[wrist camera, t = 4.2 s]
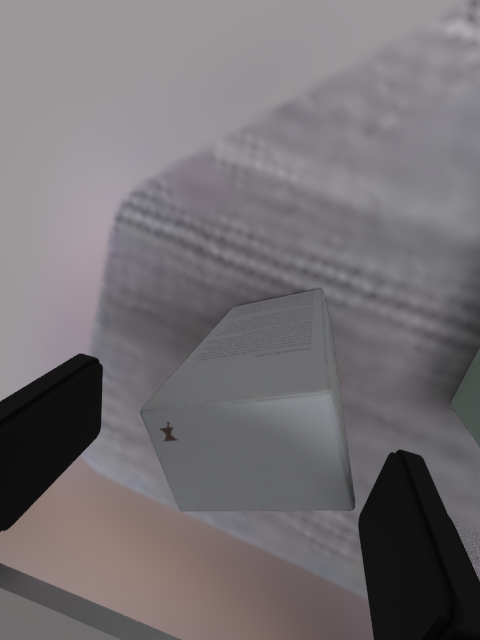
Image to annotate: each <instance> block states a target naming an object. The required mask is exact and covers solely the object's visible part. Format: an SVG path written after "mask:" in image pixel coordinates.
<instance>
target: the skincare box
mask: <svg viewBox="0 0 480 640" xmlns="http://www.w3.org/2000/svg"><path fill="white" fill-rule="evenodd" d="M140 414H141V417H142V419H143V421H144V424H145V426H146V429H147V431H148V433H149V436H150V438H151V441H152V443H153V446H154V448H155V451H156V453H157V456H158V458H159V461H160V463H161V466H162V468H163V471H164V473H165V476H166V478H167V481H168V483H169V486H170V488H171V491H172V493H173V496H174V498H175V500H176V502H177V504H178V507H179V509H180V510H181V511H234V510H252V511H279V510H346V511H351V510H353V509H354V508H355V497H354V489H353V482H352V474H351V467H350V460H349V453H348V445H347V438H346V431H345V424H344V417H343V409H342V402H341V395H340V388H339V380H338V372H337V365H336V357H335V349H334V344H333V338H332V332H331V327H330V322H329V317H328V312H327V306H326V301H325V296H324V292H323V290H322V289H317V290H313V291H308V292H303V293H298V294H293V295H288V296H283V297H278V298H274V299H269V300H264V301H259V302H255V303H250V304H245V305H240V306H235V307H233V308H232V309H231V310H230V311H229V312H228V313H227V314H226V315H225V316H224V318H223V319H222V320H221V321H220V322H219V323H218V324H217V325H216V327H215V328H214V329H213V330H212V331H211V332H210V333H209V334H208V335H207V337H206V338H205V339H204V340H203V341H202V342H201V343H200V344H199V345H198V347H197V348H196V349H195V350H194V351H193V352H192V353H191V354H190V355H189V356H188V358H187V359H186V360H185V361H184V362H183V363H182V364H181V365H180V366H179V368H178V369H177V370H176V371H175V372H174V373H173V374H172V375H171V376H170V377H169V378H168V380H167V381H166V382H165V383H164V384H163V385H162V386H161V387H160V389H159V390H158V391H157V392H156V393H155V394H154V395H153V396H152V397H151V399H150V400H149V401H148V402H147V403H146V404H145V405H144V406H143V408H142V409H141V411H140Z"/></svg>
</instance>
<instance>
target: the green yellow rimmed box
mask: <svg viewBox="0 0 480 640" xmlns="http://www.w3.org/2000/svg"><path fill="white" fill-rule="evenodd" d="M450 404H451V406H452V407H453V409H454V410H455V412H456V413H457V414H458V416H459V417H460V419H461V420H462V422H463V423H464V425H465V426H466V428H467V429H468V430H469V432H470V433H471V435H472V436H473V438H474V439H475V441H476V442H477V444H478V445H479V447H480V347H479V349H478V351H477V353H476V355H475V357H474V359H473V361H472V363H471V365H470V366H469V368H468V370H467V372H466V374H465V376H464V378H463V380H462V382H461V384H460V386H459V387H458V389H457V391H456V393H455V395H454V397H453V399H452V401H451V403H450Z"/></svg>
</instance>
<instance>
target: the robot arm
mask: <svg viewBox="0 0 480 640" xmlns="http://www.w3.org/2000/svg"><path fill="white" fill-rule="evenodd" d="M102 375H103V367H102V365H101V364H100V363H99V360H98V359H97V358H95V357H92V356H88V355H85V354H78V355H76V356H74V357H73V358H71V359H69V360H68V361H66V362H64V363H63V364H62V365H60V366H58V367H57V368H55V369H53V370H52V371H50V372H48V373H46V374H45V375H43V376H42V377H40V378H38V379H36V380H35V381H33V382H32V383H30V384H28V385H27V386H25V387H23V388H22V389H20V390H18V391H17V392H15V393H13V394H12V395H10V396H9V397H7V398H5V399H3V400H2V401H0V532H1V531H5V530H7V529H9V528H10V527H11V526H12V525H13V524H14V523H15V522H16V521H17V520H18V519H19V518H20V517H21V516H22V515H23V514H24V513H25V512H26V511H27V510H28V509H29V508H30V506H31V505H32V504H33V503H34V502H35V501H36V500H37V499H38V498H39V497H40V496H41V495H42V494H43V493H44V492H45V491H46V490H47V489H48V488H49V487H50V486H51V485H52V484H53V483H54V482H55V480H56V479H57V478H58V477H59V476H60V475H61V474H62V473H63V472H64V471H65V470H66V469H67V468H68V467H69V466H70V465H71V464H72V463H73V462H74V461H75V460H76V459H77V457H78V456H79V455H80V454H81V453H82V452H83V451H84V450H85V449H86V448H87V447H88V446H89V445H90V444H91V443H92V442H93V441H94V440H95V439H96V438H97V436H98V434H99V432H100V429H101V410H102ZM358 527H359V535H360V543H361V550H362V557H363V564H364V571H365V578H366V585H367V593H368V600H369V607H370V613H371V620H372V628H373V636H374V640H480V581H479V579H478V577H477V575H476V572H475V570H474V568H473V566H472V563H471V561H470V559H469V557H468V554H467V552H466V550H465V548H464V545H463V543H462V541H461V539H460V537H459V534H458V532H457V530H456V528H455V525H454V523H453V522H452V520H451V518H450V517H449V516H448V514H447V512H446V509H445V507H444V505H443V502H442V500H441V498H440V496H439V493H438V491H437V489H436V487H435V484H434V482H433V480H432V477H431V475H430V473H429V471H428V468H427V466H426V464H425V462H424V459H423V458H422V457H421V456H420V455H417V454H414V453H410V452H407V451H404V450H398V451H397V452H396V453H393V452H391V453H390V454H389V455H388V457H387V459H386V461H385V464H384V466H383V468H382V470H381V472H380V474H379V476H378V478H377V480H376V482H375V484H374V486H373V489H372V491H371V493H370V495H369V497H368V499H367V501H366V503H365V505H364V507H363V509H362V512H361V514H360V517H359V523H358ZM0 640H181V639H178V638H176V637H174V636H171V635H169V634H167V633H164V632H162V631H160V630H157V629H155V628H152V627H150V626H148V625H146V624H143V623H141V622H138V621H136V620H134V619H132V618H129V617H127V616H124V615H122V614H119V613H117V612H115V611H113V610H110V609H108V608H106V607H103V606H101V605H99V604H96V603H94V602H91V601H89V600H87V599H84V598H82V597H80V596H77V595H75V594H73V593H70V592H68V591H65V590H63V589H61V588H58V587H56V586H54V585H51V584H49V583H46V582H44V581H41V580H39V579H37V578H34V577H32V576H30V575H27V574H25V573H22V572H20V571H18V570H15V569H13V568H10V567H8V566H5V565H3V564H1V563H0Z"/></svg>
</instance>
